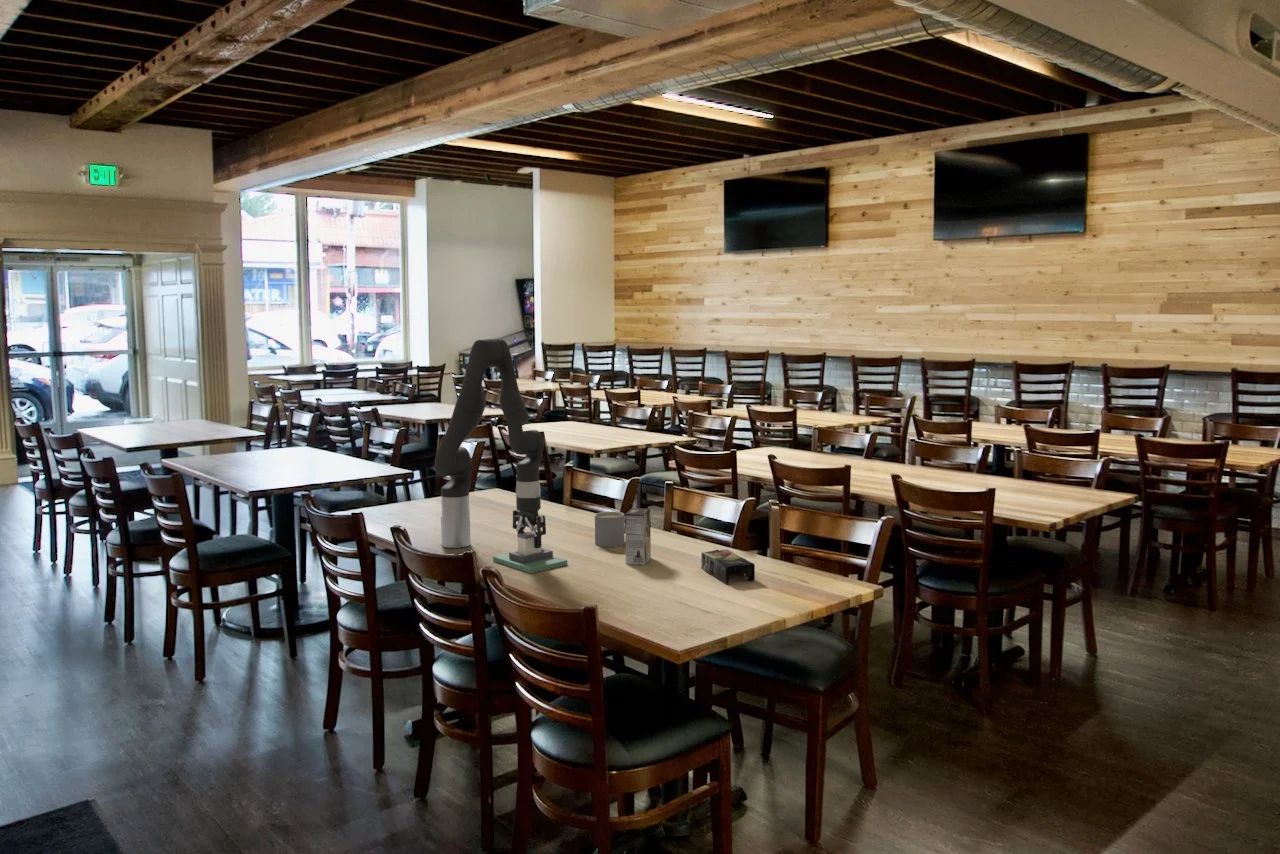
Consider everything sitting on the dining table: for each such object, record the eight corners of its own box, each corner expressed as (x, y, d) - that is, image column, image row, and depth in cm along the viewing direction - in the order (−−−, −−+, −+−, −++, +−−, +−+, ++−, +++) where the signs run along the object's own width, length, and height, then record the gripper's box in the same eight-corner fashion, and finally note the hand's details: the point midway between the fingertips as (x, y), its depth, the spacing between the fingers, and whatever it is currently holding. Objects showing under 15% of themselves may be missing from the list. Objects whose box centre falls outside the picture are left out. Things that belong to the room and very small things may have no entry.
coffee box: (631, 556, 312) (631, 507, 310) (651, 557, 311) (650, 508, 309) (625, 564, 303) (624, 513, 301) (645, 565, 302) (645, 514, 300)
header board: (493, 561, 308) (492, 550, 308) (529, 553, 318) (528, 542, 317) (530, 573, 294) (530, 562, 293) (567, 564, 303) (567, 553, 302)
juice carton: (698, 568, 298) (698, 548, 298) (727, 565, 302) (727, 546, 301) (725, 586, 280) (725, 566, 279) (756, 583, 283) (756, 563, 282)
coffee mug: (604, 548, 323) (603, 519, 322) (589, 542, 331) (589, 513, 330) (638, 543, 330) (638, 514, 328) (623, 537, 338) (623, 509, 337)
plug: (518, 558, 305) (517, 533, 304) (536, 554, 310) (535, 530, 309) (525, 561, 302) (525, 536, 301) (543, 557, 307) (543, 532, 306)
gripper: (505, 493, 305) (506, 543, 307) (532, 499, 295) (533, 551, 297) (524, 489, 310) (525, 539, 313) (551, 496, 300) (553, 547, 302)
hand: (529, 545), depth 305 cm, fingers open, 8 cm apart
